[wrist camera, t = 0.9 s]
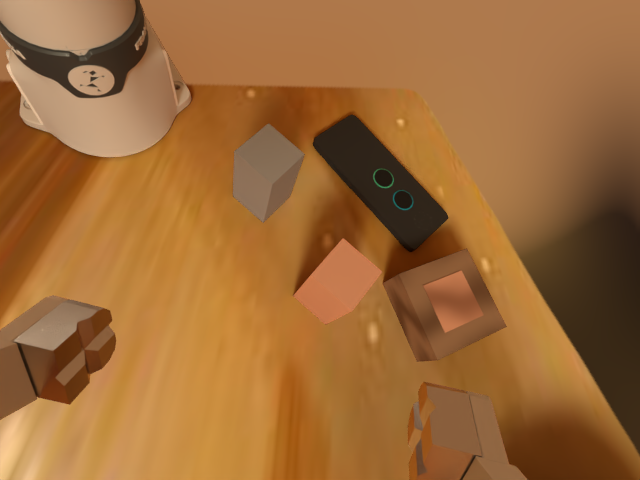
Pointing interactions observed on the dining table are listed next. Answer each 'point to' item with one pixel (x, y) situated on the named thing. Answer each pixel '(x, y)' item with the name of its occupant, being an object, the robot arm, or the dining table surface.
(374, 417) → the dining table surface
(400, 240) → the smart home device
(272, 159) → the grey block
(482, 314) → the walnut base block
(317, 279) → the terracotta block
